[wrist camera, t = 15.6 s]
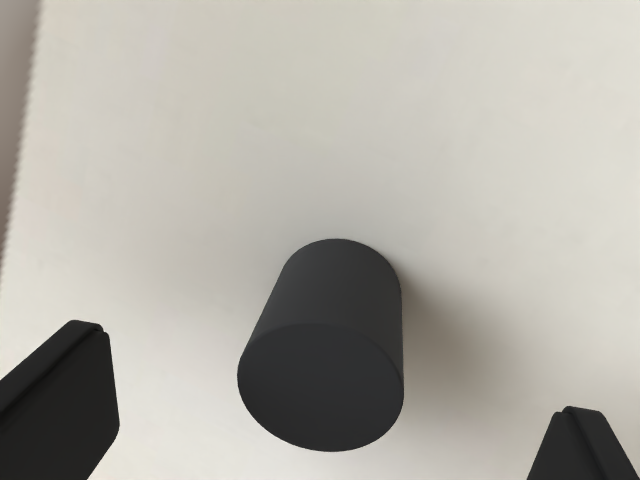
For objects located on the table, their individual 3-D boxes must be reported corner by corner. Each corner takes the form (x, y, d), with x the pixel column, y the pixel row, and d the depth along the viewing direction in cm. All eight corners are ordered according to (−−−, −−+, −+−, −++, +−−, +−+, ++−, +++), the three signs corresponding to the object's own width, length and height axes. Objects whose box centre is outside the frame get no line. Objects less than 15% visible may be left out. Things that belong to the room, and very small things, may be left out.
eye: (349, 213, 12) (330, 290, 9) (426, 308, 13) (439, 413, 9) (254, 280, 13) (202, 371, 10) (330, 362, 14) (308, 473, 11)
